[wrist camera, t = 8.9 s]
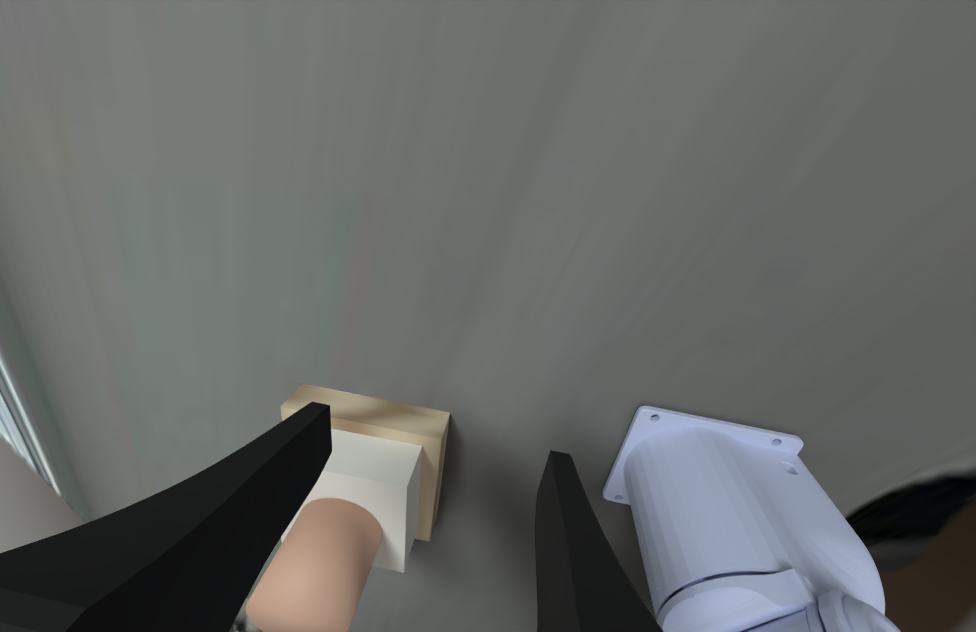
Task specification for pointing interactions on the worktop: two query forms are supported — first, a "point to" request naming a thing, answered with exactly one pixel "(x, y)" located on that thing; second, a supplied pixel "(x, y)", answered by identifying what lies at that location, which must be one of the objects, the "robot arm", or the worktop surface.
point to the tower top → (375, 489)
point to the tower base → (388, 435)
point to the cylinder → (317, 570)
